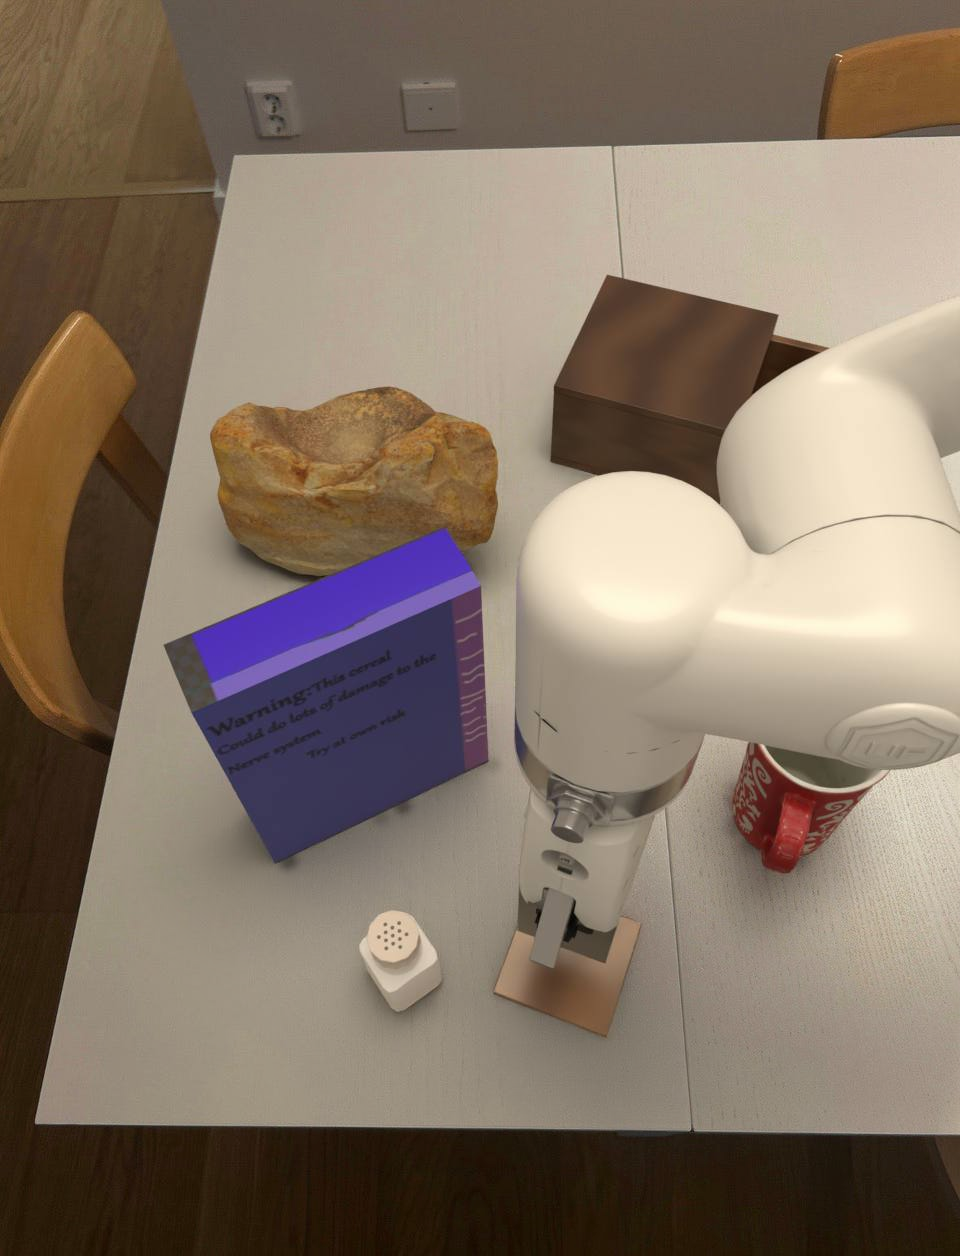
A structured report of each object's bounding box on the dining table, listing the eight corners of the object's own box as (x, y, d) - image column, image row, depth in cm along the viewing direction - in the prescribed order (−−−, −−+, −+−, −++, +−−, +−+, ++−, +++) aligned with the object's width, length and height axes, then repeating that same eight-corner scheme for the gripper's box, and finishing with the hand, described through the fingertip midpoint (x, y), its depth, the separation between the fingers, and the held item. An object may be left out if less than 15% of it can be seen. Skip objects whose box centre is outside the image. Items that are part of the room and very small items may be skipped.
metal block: (627, 893, 64) (649, 822, 55) (605, 964, 62) (623, 902, 53) (542, 862, 66) (548, 787, 56) (517, 930, 63) (519, 864, 54)
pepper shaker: (365, 968, 73) (347, 928, 65) (414, 934, 74) (402, 890, 66) (397, 1017, 71) (382, 982, 63) (446, 982, 72) (438, 943, 64)
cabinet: (757, 393, 100) (779, 314, 92) (718, 508, 93) (738, 433, 85) (599, 354, 104) (606, 274, 95) (550, 461, 96) (553, 385, 88)
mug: (740, 736, 81) (778, 645, 70) (857, 782, 79) (916, 696, 68) (684, 881, 76) (715, 809, 64) (809, 936, 73) (864, 870, 62)
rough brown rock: (526, 467, 97) (525, 332, 85) (493, 608, 87) (487, 478, 76) (284, 441, 101) (251, 308, 89) (226, 574, 91) (180, 445, 79)
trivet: (641, 924, 74) (641, 922, 74) (606, 1037, 70) (606, 1036, 70) (532, 885, 76) (533, 883, 75) (493, 993, 72) (492, 991, 71)
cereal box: (460, 712, 83) (444, 524, 63) (488, 761, 81) (480, 583, 60) (251, 809, 79) (162, 642, 59) (275, 863, 77) (190, 710, 57)
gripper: (636, 957, 38) (598, 1054, 53) (748, 589, 46) (688, 765, 62) (442, 884, 39) (460, 999, 55) (584, 541, 48) (565, 725, 63)
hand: (580, 874), depth 58 cm, fingers closed on metal block, 4 cm apart
